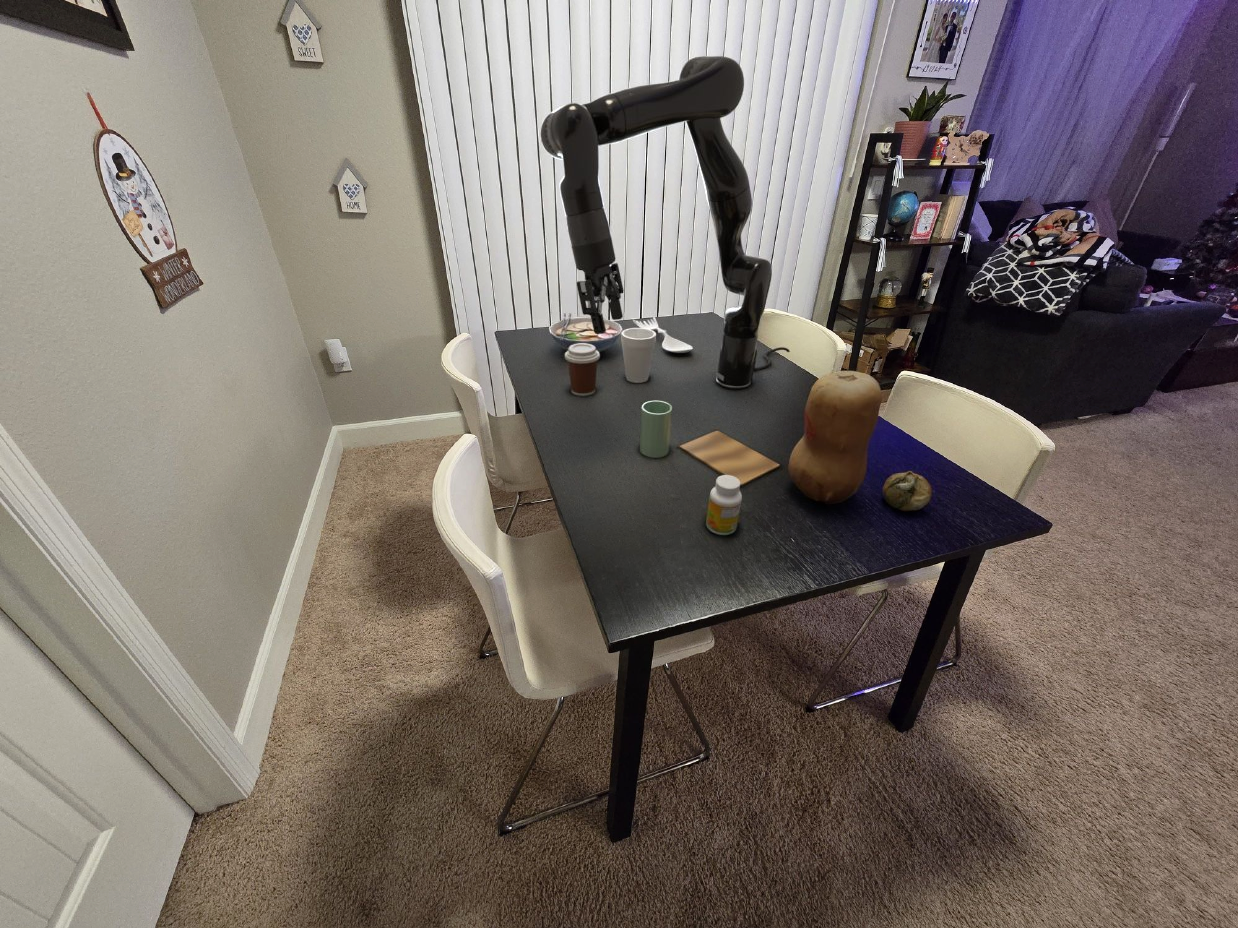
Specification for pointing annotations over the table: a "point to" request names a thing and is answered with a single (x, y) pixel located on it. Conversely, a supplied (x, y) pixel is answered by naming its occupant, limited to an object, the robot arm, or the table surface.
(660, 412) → the cup
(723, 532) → the supplement bottle
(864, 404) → the butternut squash
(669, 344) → the spoon
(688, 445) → the placemat
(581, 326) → the ramen bowl
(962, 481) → the table surface
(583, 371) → the coffee cup
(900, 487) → the onion
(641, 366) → the foam cup
